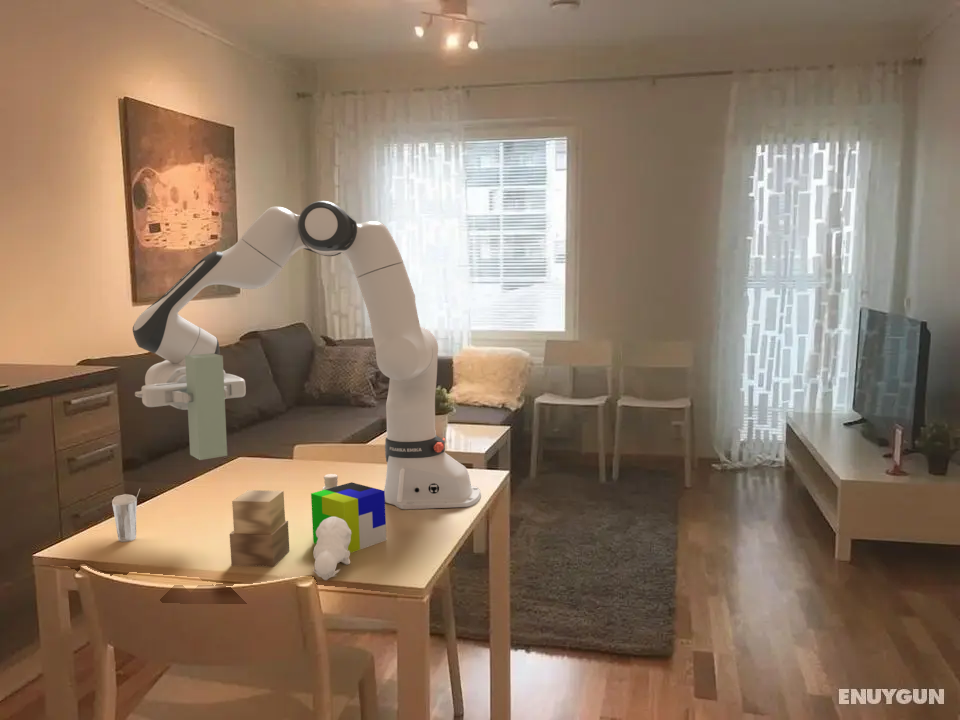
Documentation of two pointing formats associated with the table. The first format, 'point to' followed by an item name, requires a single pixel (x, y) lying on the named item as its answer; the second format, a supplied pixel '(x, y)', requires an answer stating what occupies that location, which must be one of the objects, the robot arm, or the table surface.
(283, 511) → the tower top
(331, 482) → the pepper shaker
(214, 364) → the pillar
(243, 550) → the tower bottom
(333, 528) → the white animal figurine
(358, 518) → the puzzle toy
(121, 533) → the milkshake
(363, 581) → the table surface
